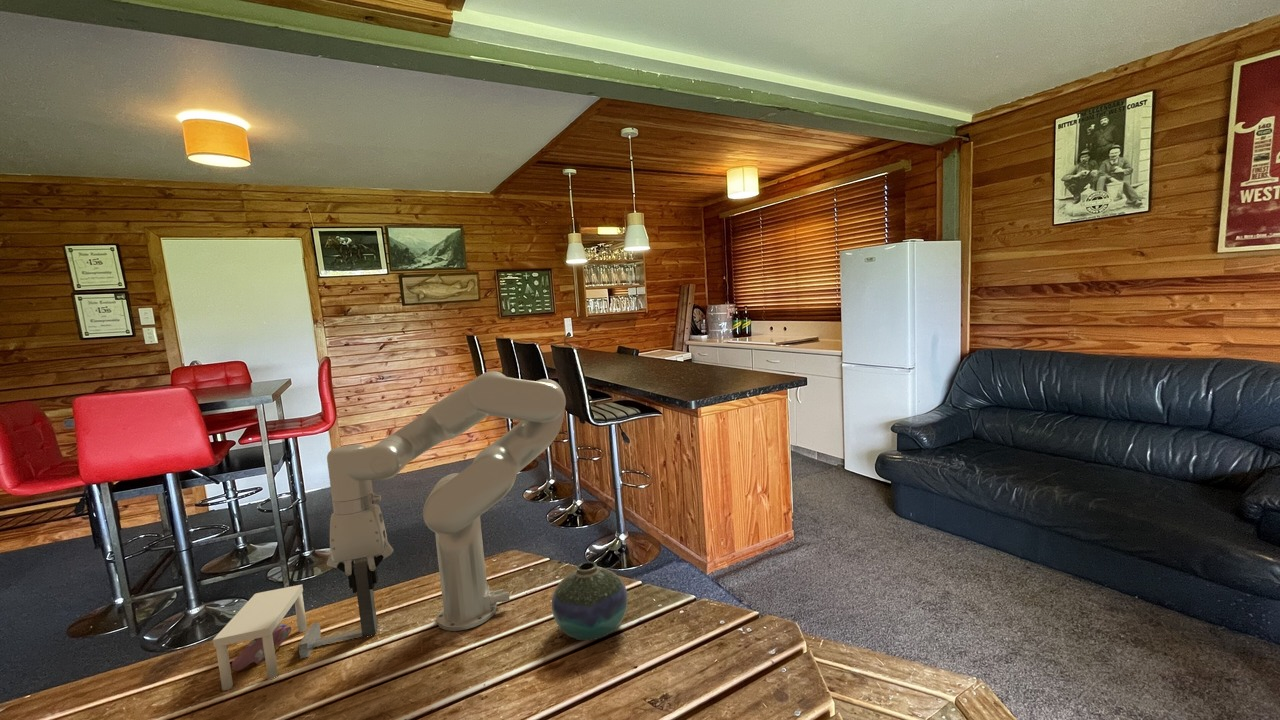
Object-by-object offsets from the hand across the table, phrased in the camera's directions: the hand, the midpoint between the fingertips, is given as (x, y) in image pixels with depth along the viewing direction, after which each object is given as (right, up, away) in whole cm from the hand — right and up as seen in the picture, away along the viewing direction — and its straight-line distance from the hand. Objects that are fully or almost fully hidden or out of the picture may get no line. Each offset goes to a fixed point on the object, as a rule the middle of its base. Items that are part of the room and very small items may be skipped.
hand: (364, 587), depth 110 cm
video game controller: (-18, -12, -4) cm, 22 cm away
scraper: (-4, -11, -1) cm, 12 cm away
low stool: (-17, -12, -4) cm, 22 cm away
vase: (+49, -6, -5) cm, 50 cm away
